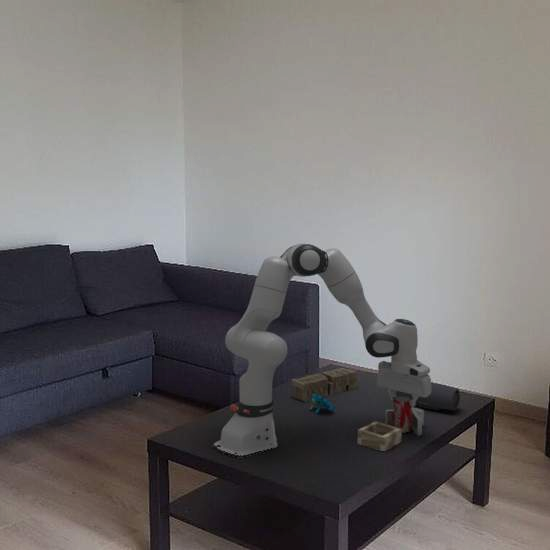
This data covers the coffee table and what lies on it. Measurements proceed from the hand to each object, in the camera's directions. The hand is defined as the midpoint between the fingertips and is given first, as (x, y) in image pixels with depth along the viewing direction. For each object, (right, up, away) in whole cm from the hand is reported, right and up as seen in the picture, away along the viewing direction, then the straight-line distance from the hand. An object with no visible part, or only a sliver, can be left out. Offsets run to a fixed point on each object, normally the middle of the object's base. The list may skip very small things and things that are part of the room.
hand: (402, 403), depth 255 cm
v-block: (+3, -10, +5) cm, 11 cm away
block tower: (-25, -4, +42) cm, 49 cm away
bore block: (-9, -12, -9) cm, 18 cm away
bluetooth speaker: (+14, -6, +26) cm, 30 cm away
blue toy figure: (-27, -7, +21) cm, 35 cm away
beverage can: (0, -10, +2) cm, 11 cm away
